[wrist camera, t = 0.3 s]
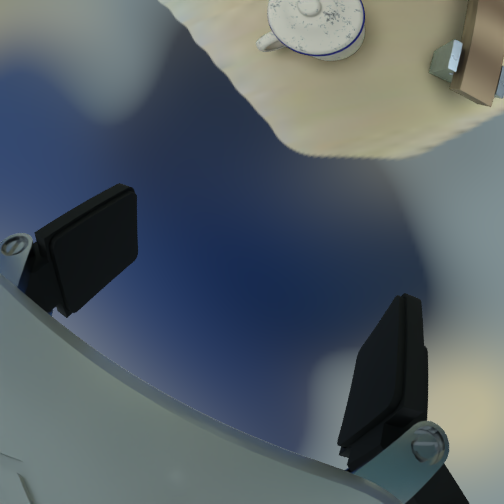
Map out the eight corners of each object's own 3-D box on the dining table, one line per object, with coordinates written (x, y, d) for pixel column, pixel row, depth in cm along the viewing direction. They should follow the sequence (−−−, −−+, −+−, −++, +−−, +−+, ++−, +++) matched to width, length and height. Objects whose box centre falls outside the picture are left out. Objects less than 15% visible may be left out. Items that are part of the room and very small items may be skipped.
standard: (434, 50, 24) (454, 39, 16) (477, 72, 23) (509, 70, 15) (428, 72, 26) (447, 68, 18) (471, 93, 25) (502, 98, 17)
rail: (473, -62, 9) (482, -76, 6) (500, -48, 8) (512, -60, 5) (449, 89, 21) (459, 89, 18) (477, 103, 20) (491, 106, 17)
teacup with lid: (343, -15, 24) (328, -52, 14) (380, 48, 27) (383, 31, 17) (257, 24, 30) (212, 6, 21) (290, 83, 33) (255, 83, 24)
